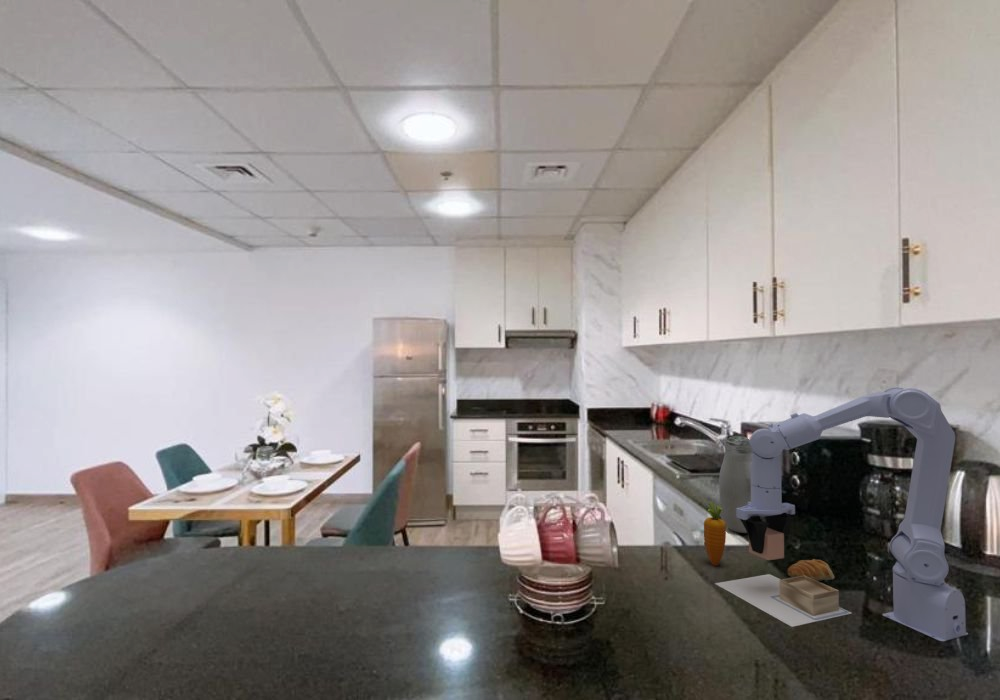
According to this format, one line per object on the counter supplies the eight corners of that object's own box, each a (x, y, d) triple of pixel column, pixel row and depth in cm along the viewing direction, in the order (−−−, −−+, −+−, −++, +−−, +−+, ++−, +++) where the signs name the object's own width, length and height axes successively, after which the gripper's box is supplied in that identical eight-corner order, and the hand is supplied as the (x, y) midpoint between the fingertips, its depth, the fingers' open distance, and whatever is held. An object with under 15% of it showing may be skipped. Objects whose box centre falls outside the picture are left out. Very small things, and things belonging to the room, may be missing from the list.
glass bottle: (712, 527, 140) (712, 434, 142) (739, 524, 143) (739, 433, 145) (738, 538, 131) (738, 438, 132) (766, 535, 134) (766, 438, 135)
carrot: (729, 572, 108) (728, 507, 109) (706, 570, 109) (706, 505, 110) (723, 563, 113) (723, 501, 114) (701, 561, 114) (701, 499, 115)
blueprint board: (852, 616, 89) (852, 612, 89) (791, 630, 84) (791, 626, 84) (769, 576, 106) (769, 573, 106) (714, 586, 101) (714, 583, 101)
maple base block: (838, 610, 90) (838, 590, 90) (813, 616, 88) (813, 595, 88) (804, 593, 97) (804, 575, 97) (779, 598, 94) (779, 579, 95)
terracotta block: (784, 557, 97) (783, 533, 97) (767, 560, 96) (767, 535, 96) (764, 549, 101) (764, 526, 102) (748, 552, 100) (748, 528, 100)
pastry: (804, 587, 102) (804, 569, 102) (778, 574, 108) (778, 557, 109) (837, 582, 104) (837, 565, 105) (809, 570, 111) (809, 554, 111)
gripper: (774, 479, 105) (774, 540, 105) (724, 483, 101) (725, 547, 100) (803, 486, 99) (804, 551, 98) (752, 491, 94) (752, 560, 93)
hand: (766, 550), depth 99 cm, fingers closed on terracotta block, 5 cm apart
